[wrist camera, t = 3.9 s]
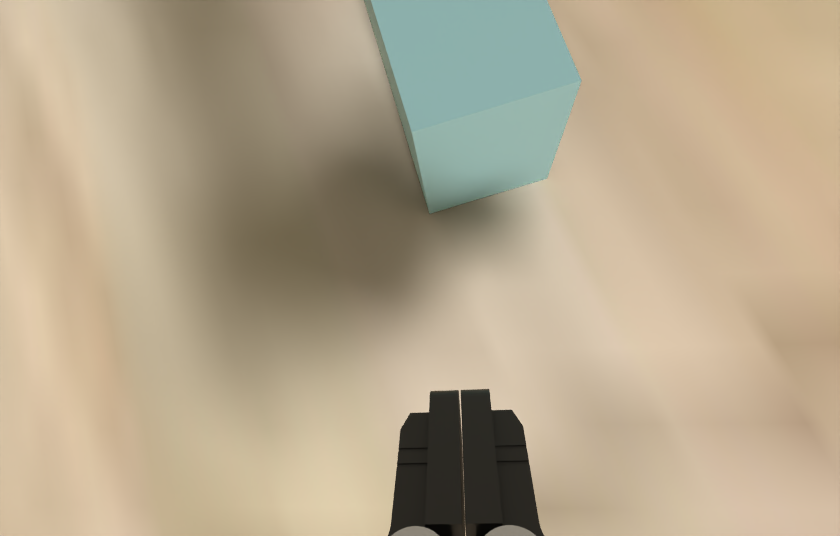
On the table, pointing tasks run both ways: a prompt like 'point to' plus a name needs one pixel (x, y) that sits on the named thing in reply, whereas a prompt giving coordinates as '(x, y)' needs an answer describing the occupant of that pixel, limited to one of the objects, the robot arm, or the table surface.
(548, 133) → the block
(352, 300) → the table surface
